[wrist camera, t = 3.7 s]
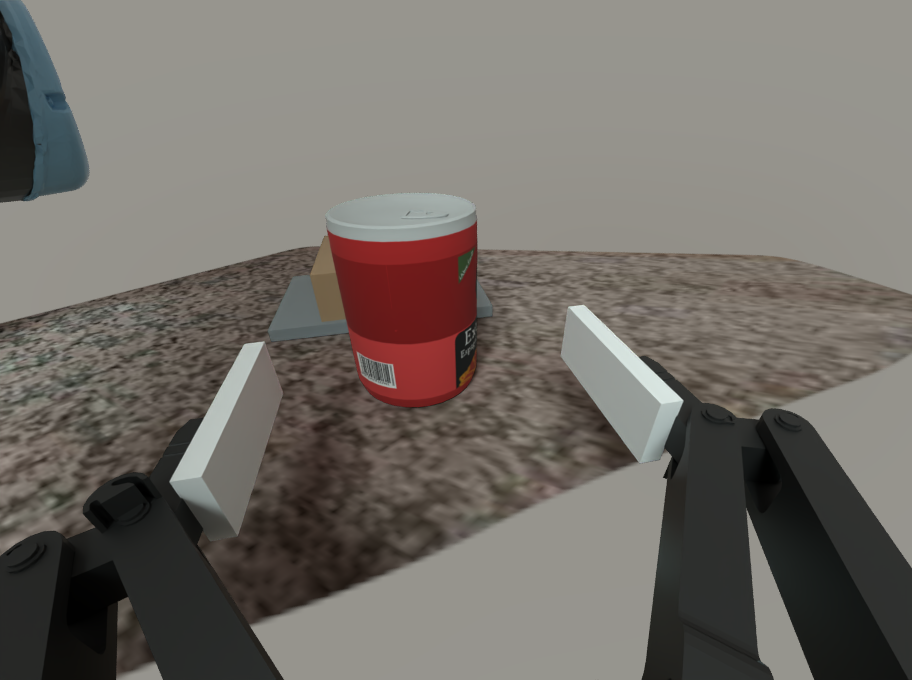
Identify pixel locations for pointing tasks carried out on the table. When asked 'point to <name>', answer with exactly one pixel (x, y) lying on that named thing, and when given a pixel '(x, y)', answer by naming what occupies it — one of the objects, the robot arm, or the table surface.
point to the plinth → (309, 316)
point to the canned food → (408, 293)
